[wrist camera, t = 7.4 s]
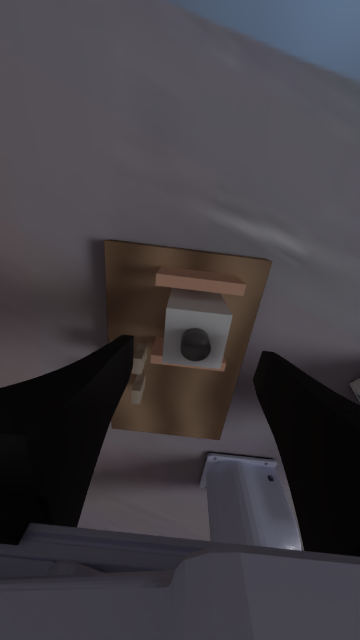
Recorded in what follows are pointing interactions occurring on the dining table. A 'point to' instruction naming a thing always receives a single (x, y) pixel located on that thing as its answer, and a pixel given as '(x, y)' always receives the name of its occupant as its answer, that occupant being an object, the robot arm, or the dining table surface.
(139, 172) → the dining table surface
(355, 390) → the syrup box
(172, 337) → the block
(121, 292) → the board
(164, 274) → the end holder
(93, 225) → the dining table surface
